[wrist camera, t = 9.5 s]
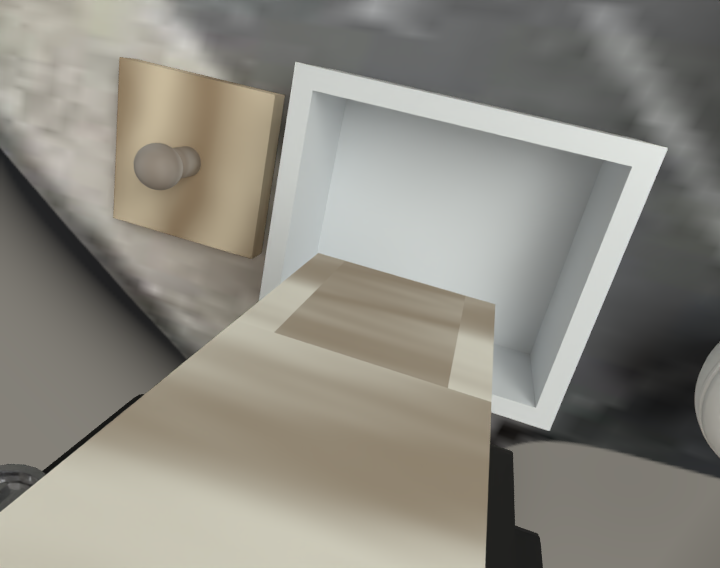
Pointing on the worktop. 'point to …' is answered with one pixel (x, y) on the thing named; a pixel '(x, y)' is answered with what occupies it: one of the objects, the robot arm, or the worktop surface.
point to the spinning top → (709, 399)
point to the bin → (463, 213)
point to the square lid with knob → (195, 155)
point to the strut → (290, 442)
